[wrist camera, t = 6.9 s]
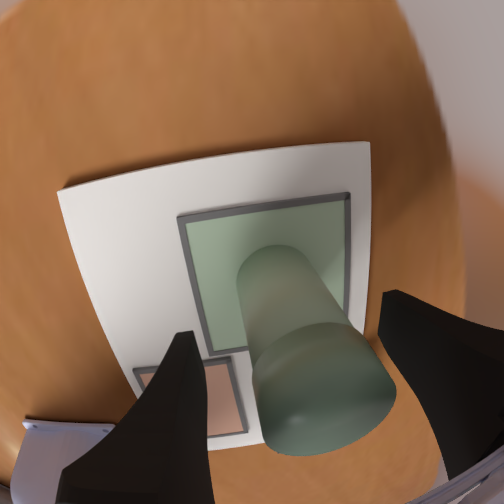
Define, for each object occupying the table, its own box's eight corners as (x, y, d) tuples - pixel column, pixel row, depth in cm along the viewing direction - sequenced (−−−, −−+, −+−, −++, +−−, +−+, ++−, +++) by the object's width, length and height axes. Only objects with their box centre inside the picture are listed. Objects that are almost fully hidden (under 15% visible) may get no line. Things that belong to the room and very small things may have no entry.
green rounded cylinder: (240, 321, 15) (268, 465, 8) (228, 250, 14) (254, 392, 6) (315, 306, 15) (383, 434, 8) (312, 236, 14) (408, 352, 7)
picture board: (170, 447, 20) (170, 472, 18) (62, 188, 12) (38, 202, 10) (346, 416, 21) (356, 438, 19) (363, 140, 13) (390, 146, 11)
